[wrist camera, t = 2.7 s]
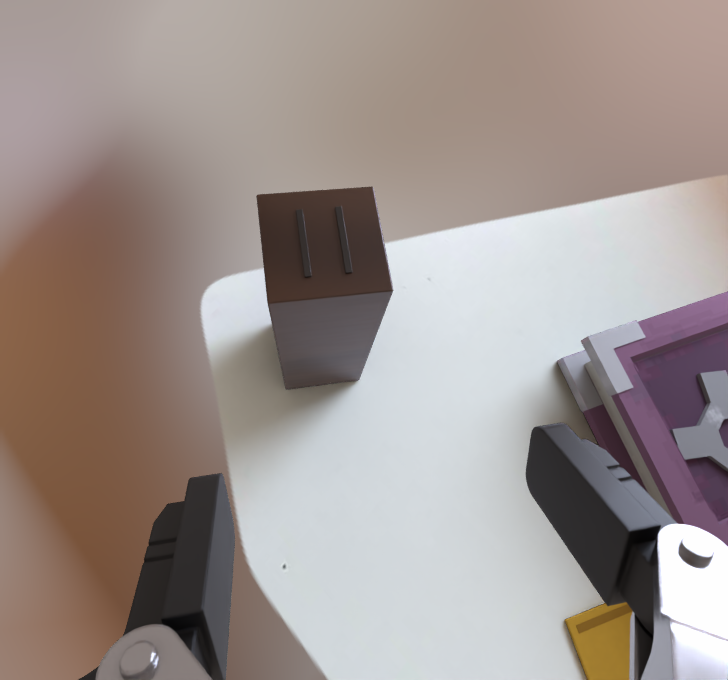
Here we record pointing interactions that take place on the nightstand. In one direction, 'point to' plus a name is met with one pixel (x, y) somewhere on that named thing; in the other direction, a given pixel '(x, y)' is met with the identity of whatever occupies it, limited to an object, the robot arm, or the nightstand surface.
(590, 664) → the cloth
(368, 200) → the knife block
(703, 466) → the book
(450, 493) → the nightstand surface
